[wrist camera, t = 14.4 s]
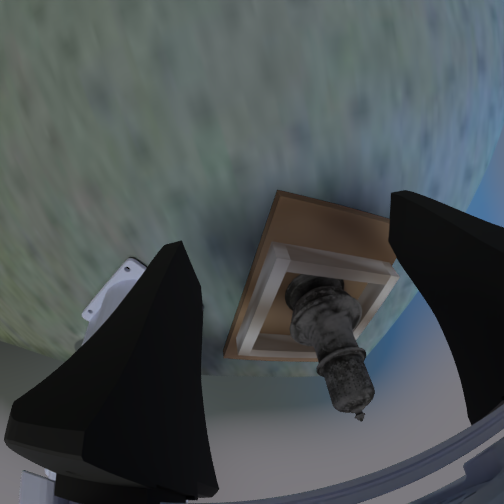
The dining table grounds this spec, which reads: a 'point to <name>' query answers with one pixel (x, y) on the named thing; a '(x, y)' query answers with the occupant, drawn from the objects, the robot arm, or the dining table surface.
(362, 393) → the salt shaker
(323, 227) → the board
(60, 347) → the dining table surface
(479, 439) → the robot arm
